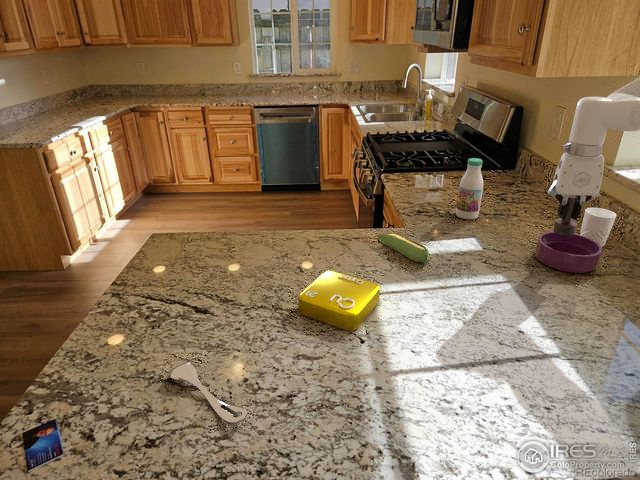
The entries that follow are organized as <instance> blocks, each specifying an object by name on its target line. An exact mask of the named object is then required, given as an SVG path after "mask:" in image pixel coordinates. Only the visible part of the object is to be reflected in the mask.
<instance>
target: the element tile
mask: <svg viewBox="0 0 640 480" xmlns="http://www.w3.org/2000/svg"><path fill="white" fill-rule="evenodd" d="M380 291H381V286H380V285H379V284H378V283H376V282H373V281H370V280H367V279H363V278H359V277H356V276H353V275H349V274H346V273H342V272H339V271H336V270H327V271H324V272H323V273H322V274H321V275H320V276H318V277H317V278H316V279H314V281H313V282H311V283H310V284H309V285H308V286H307V287H306V288H305V289H304V290H303V291H302V292H300V293H299V295H298V311H299V313H300V314H301V315H303V316H305V317H308V318H311V319H314V320H317V321H318V322H322V323H325V324H327V325H331V326H334V327H336V328H338V329H342V330H344V331H350V332H351V331H352V332H353V331H355V330H357V329H358V328H360V326H361V325H362V324H363V323H364V321H365V320H366V319H367V317H369V315H371V314H372V311H374V309H375V308H376V306H377V305H378V304H379V302H380Z"/></svg>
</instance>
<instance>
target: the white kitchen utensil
mask: <svg viewBox="0 0 640 480" xmlns="http://www.w3.org/2000/svg"><path fill="white" fill-rule="evenodd" d="M168 377H170V378H171V379H173V380H177V381H181V382H182V381H183V382H187V383H190V384H192V385H194V386H195V387H197V388H198V389H199V390H200V392H201V393H202V395H203V396H204V397H205V399H206V400H207V401H208V403H209V404H210V406H211V408H212V409H213V410H214V411H215V413H216V414H217V415H218V416H219V417H220V418H221V419H222V420H224V421H226V422H227V423H230V424H237V423H239V422H242V421H244V420H245V419H246V418H247V416H248V410H247V409H246V408H244V407H242V406H238V405H234V404H233V403H229V402H228V403H227V402H225V401H224V400H221V399H220V398H218V397H216V396H215V395H214V394H212V393H211V392H210V391H209V390H207V388H206V387H205V386H204V385H203V384H202V382H201V381H200V378H199V376H198V369H197V366H196V364H194V363H193V362H190V361H185V362H182V363H180V364H179V365H177V366H175V367H174V368H173V369H172V370H171V371H170V372H169V374H168ZM222 406H224V407H226V408H227V409H229V410H230V411H232V412H233V413H235V414H238V413H241V415H240V416H238V417H234V414H232V413H231V412H229V411H228V410H226V409H224V408H222Z"/></svg>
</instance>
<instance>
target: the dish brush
mask: <svg viewBox="0 0 640 480" xmlns="http://www.w3.org/2000/svg"><path fill="white" fill-rule="evenodd" d="M576 196H577V195H569V197H568V201H567V205H568V210H567V214H566V218H565V219H561V218H560V217H558V218H556V219H554V226H553V231H554V232H555V233H557V234H559V235H564V236H571V235H574V234H575V232H576V228H577V227H578V222H577V220H574V219H573V218H572V216H573V212H574V208H575V204H576V200H577V197H576ZM553 231H552V232H553Z"/></svg>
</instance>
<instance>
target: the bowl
mask: <svg viewBox="0 0 640 480" xmlns="http://www.w3.org/2000/svg"><path fill="white" fill-rule="evenodd" d="M602 254H603V247H601V246H600V245H599V244H598V243H597V242H595V241H594V240H592V239H590V238H587V237H585V236H582V235H580V234H579V233H578V234H577V233H574V235H571V236H564V235H559V234H557V233H555V232H554V231H546V232H542V233H541V234H540V235H538V238H537V241H536V246H535V250H534V257H536V259H537V260H538V261H539V262H541V264H543V265H545V266H548V267H550V268H554V269H555V270H559V271H563V272H568V273H576V274H584V273H590V272H592V271H595V270H596V269H597V268H598V266H599V263H600V260H601V256H602Z"/></svg>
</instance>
